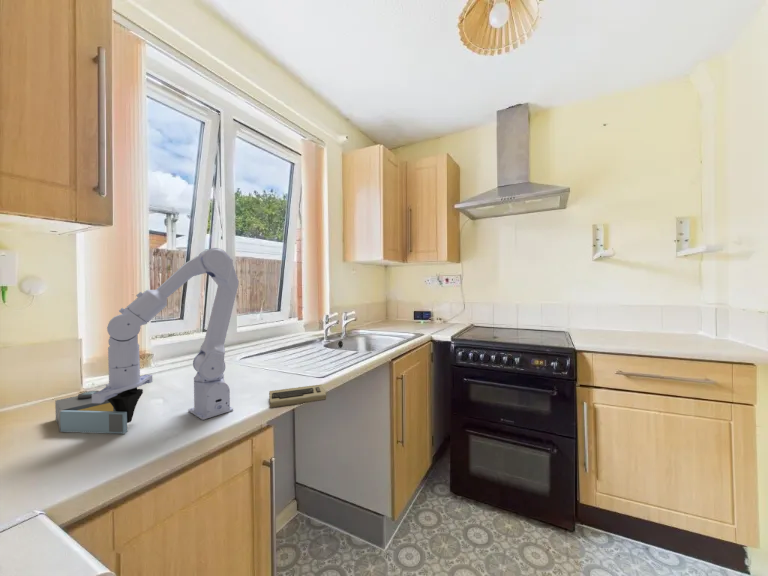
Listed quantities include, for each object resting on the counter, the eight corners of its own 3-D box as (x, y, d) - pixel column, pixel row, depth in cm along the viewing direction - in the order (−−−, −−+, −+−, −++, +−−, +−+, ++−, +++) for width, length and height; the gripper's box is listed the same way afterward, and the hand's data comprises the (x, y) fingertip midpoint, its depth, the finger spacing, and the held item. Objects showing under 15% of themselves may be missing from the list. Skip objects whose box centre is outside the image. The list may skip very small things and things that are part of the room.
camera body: (125, 414, 84) (125, 392, 84) (61, 431, 75) (60, 406, 75) (116, 405, 90) (115, 384, 90) (55, 419, 81) (55, 396, 81)
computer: (270, 409, 88) (270, 398, 88) (269, 400, 95) (269, 389, 95) (326, 401, 94) (326, 390, 94) (321, 393, 101) (321, 382, 101)
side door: (57, 431, 74) (57, 411, 74) (62, 429, 75) (61, 409, 75) (123, 433, 73) (123, 413, 73) (127, 431, 74) (127, 411, 74)
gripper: (133, 357, 82) (134, 409, 82) (77, 374, 68) (78, 436, 68) (159, 357, 82) (160, 409, 82) (109, 374, 67) (110, 437, 68)
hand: (125, 422), depth 75 cm, fingers closed
